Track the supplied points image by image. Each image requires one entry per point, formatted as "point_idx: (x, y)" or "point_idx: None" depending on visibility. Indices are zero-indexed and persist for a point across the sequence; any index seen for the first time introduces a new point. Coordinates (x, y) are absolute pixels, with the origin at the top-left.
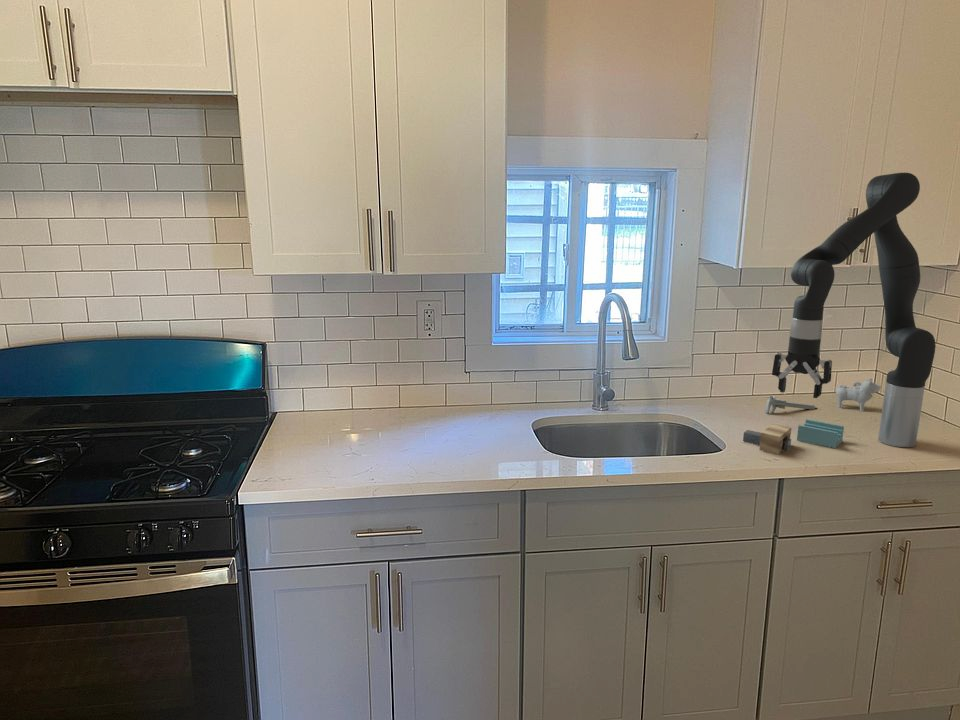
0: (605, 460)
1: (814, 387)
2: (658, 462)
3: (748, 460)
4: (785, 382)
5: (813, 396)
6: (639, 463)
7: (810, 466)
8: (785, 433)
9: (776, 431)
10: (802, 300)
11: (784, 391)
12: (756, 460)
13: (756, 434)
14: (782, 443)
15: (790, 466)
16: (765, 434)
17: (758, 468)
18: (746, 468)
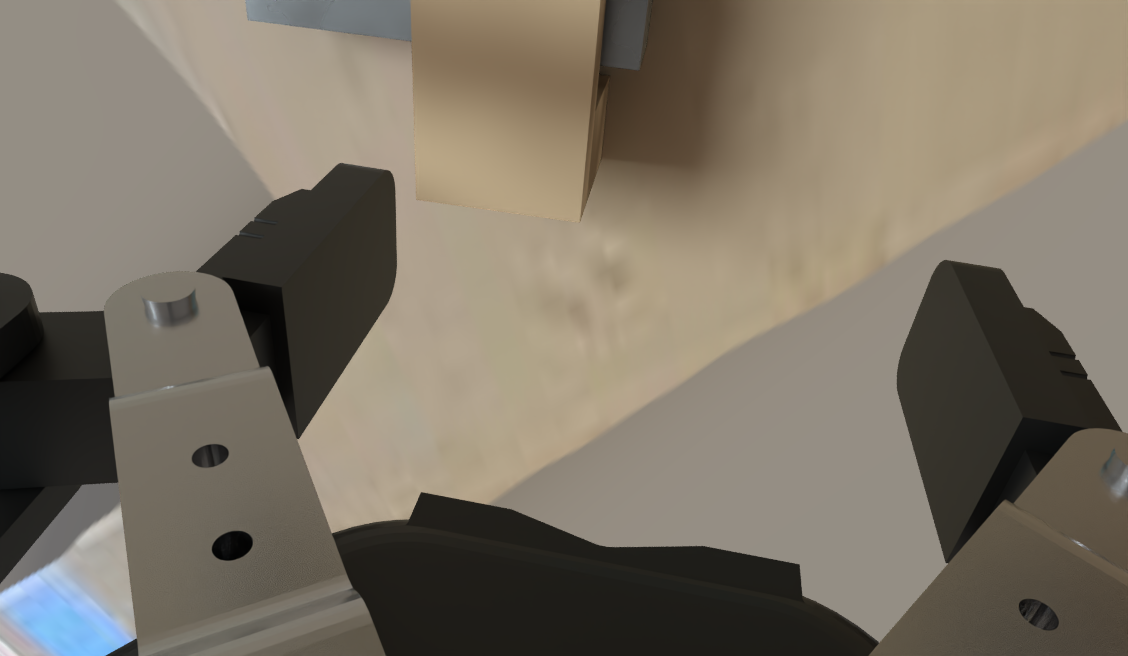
0: (16, 617)
1: (934, 513)
2: None
3: (472, 367)
4: (323, 279)
5: (900, 394)
6: (120, 599)
7: (843, 287)
8: (596, 54)
9: (515, 86)
10: None
11: (393, 200)
12: (511, 346)
13: (352, 13)
14: None
15: (717, 347)
16: (458, 202)
17: (558, 453)
18: (505, 478)
